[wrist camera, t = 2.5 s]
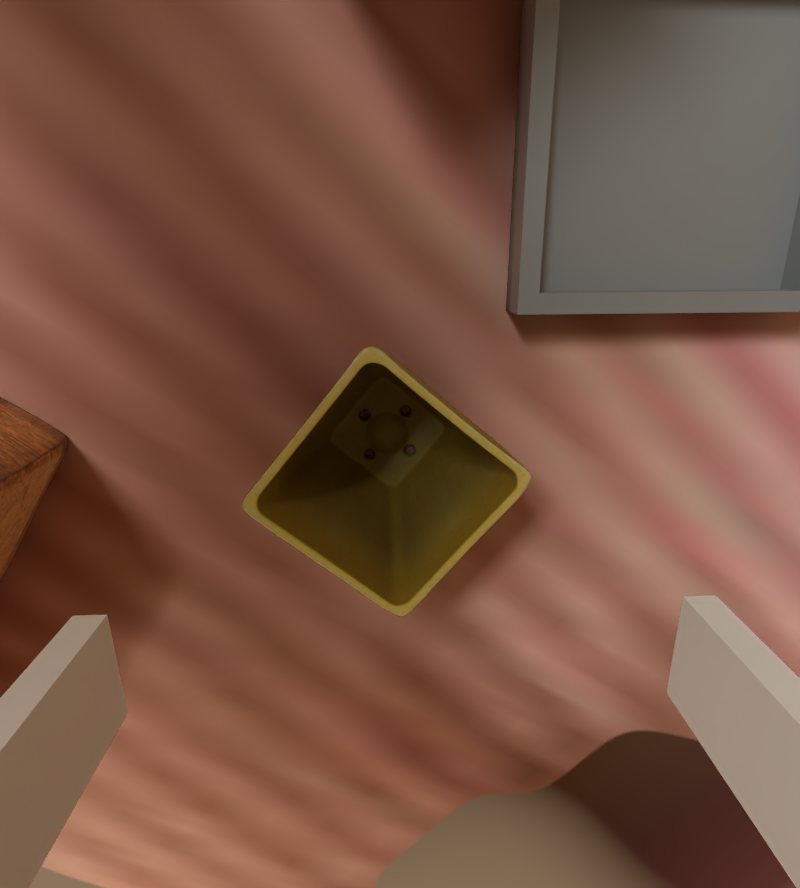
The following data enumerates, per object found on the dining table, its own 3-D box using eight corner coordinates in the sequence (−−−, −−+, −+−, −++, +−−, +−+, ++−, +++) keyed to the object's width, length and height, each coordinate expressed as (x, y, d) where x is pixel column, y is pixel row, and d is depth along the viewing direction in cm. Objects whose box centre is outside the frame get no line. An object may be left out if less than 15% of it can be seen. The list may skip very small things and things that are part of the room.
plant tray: (506, 310, 29) (517, 314, 26) (524, -39, 24) (540, -72, 22) (783, 307, 29) (819, 311, 27) (855, -35, 25) (906, -67, 22)
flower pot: (274, 440, 31) (234, 509, 22) (372, 318, 29) (368, 341, 20) (395, 528, 33) (401, 622, 24) (494, 419, 31) (538, 479, 22)
